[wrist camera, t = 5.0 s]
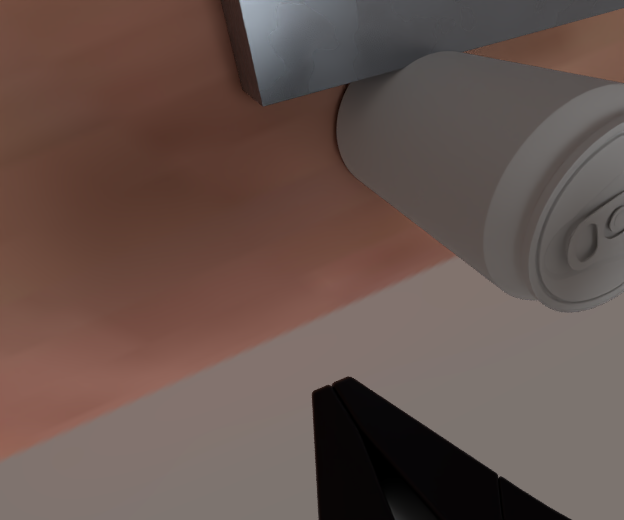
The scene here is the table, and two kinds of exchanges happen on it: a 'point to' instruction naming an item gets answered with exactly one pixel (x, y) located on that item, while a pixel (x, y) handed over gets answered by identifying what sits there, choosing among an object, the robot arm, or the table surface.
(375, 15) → the jig plate
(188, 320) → the table surface
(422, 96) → the beverage can
